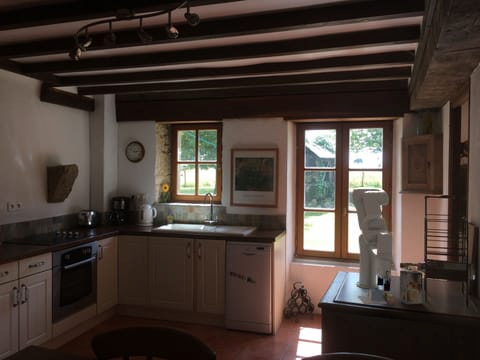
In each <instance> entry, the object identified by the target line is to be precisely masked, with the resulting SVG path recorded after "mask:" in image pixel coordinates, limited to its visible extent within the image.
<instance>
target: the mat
mask: <svg viewBox="0 0 480 360" xmlns="http://www.w3.org/2000/svg"><path fill="white" fill-rule="evenodd" d="M357 298H359V300H361V302H362V303H363V304H370V305H371V304H373V305H375V304H376V305H377V304H378V305H381V304H382V305H387V304H388V302H387V301H386V300H384V299H383V298H382V301H372V300H371V299H370V298H369V295H357Z"/></svg>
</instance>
